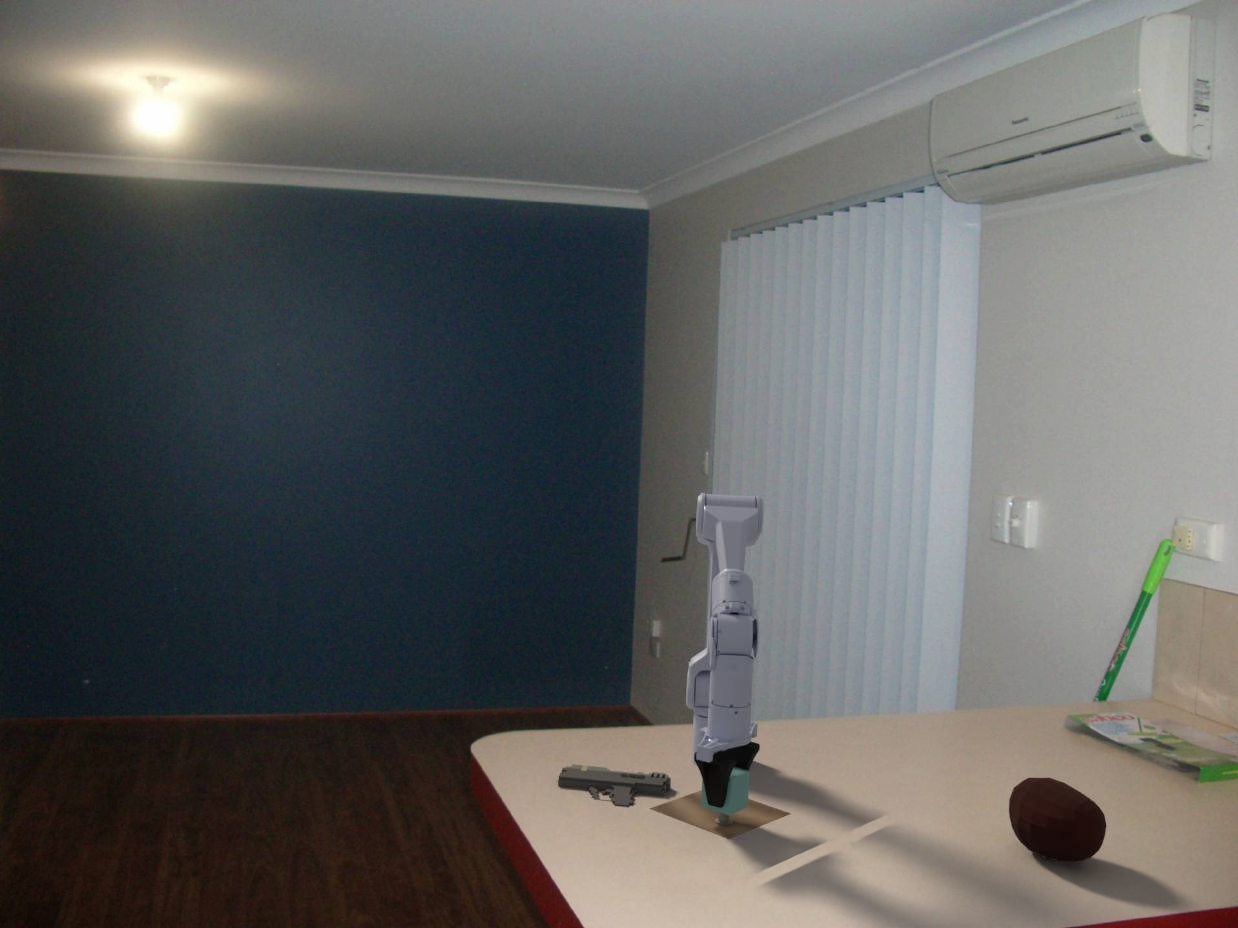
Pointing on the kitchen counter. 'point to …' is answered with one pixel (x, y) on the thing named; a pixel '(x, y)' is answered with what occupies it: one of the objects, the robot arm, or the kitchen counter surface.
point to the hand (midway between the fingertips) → (724, 799)
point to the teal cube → (732, 793)
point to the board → (719, 815)
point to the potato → (1056, 820)
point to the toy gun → (614, 783)
